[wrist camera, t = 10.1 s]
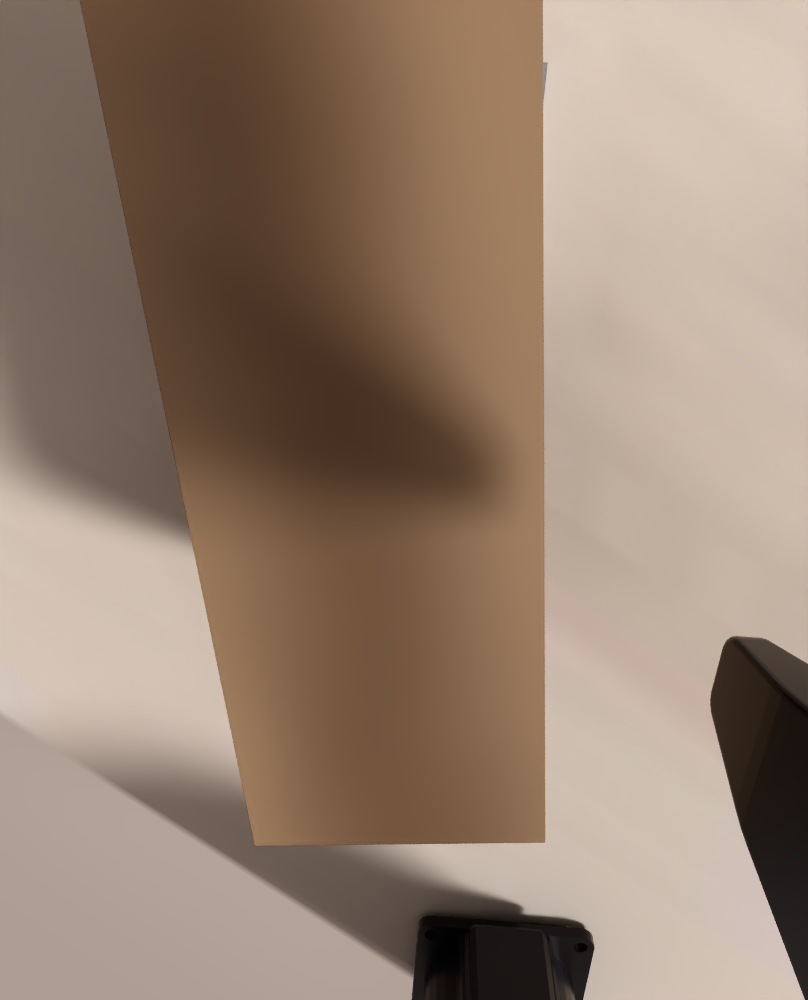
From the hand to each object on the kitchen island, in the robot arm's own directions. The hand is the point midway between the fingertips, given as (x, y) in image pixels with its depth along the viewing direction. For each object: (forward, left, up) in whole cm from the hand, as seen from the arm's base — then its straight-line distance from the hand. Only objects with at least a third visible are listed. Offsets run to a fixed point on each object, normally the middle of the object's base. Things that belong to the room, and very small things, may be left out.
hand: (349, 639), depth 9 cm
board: (+1, 0, -9) cm, 9 cm away
